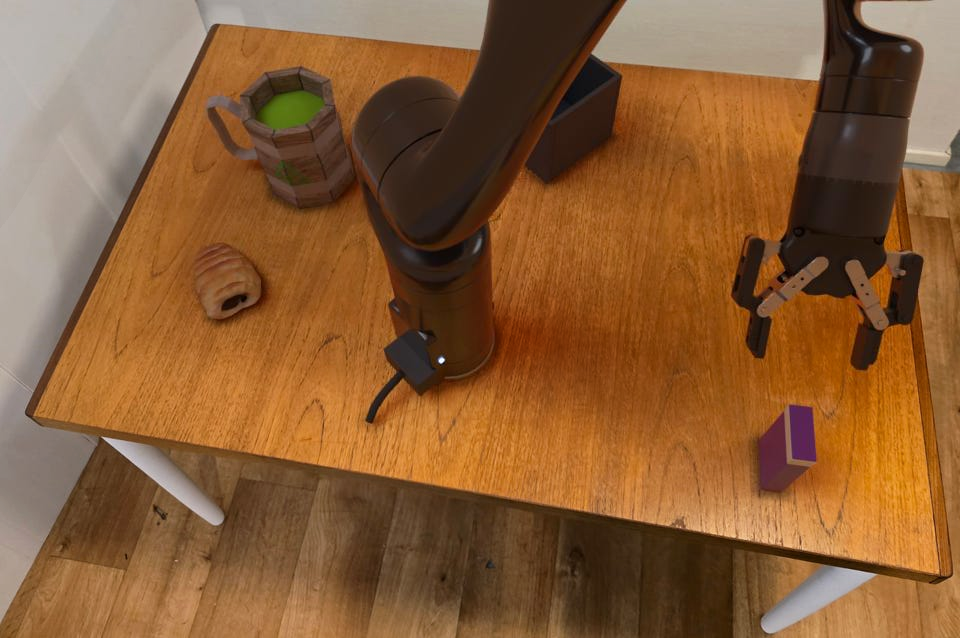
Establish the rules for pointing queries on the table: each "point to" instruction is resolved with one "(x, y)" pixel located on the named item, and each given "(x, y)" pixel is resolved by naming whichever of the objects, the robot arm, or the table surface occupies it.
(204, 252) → the pastry
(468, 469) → the table surface
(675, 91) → the table surface
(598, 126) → the waste bin
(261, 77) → the mug
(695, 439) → the table surface
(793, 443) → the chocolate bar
